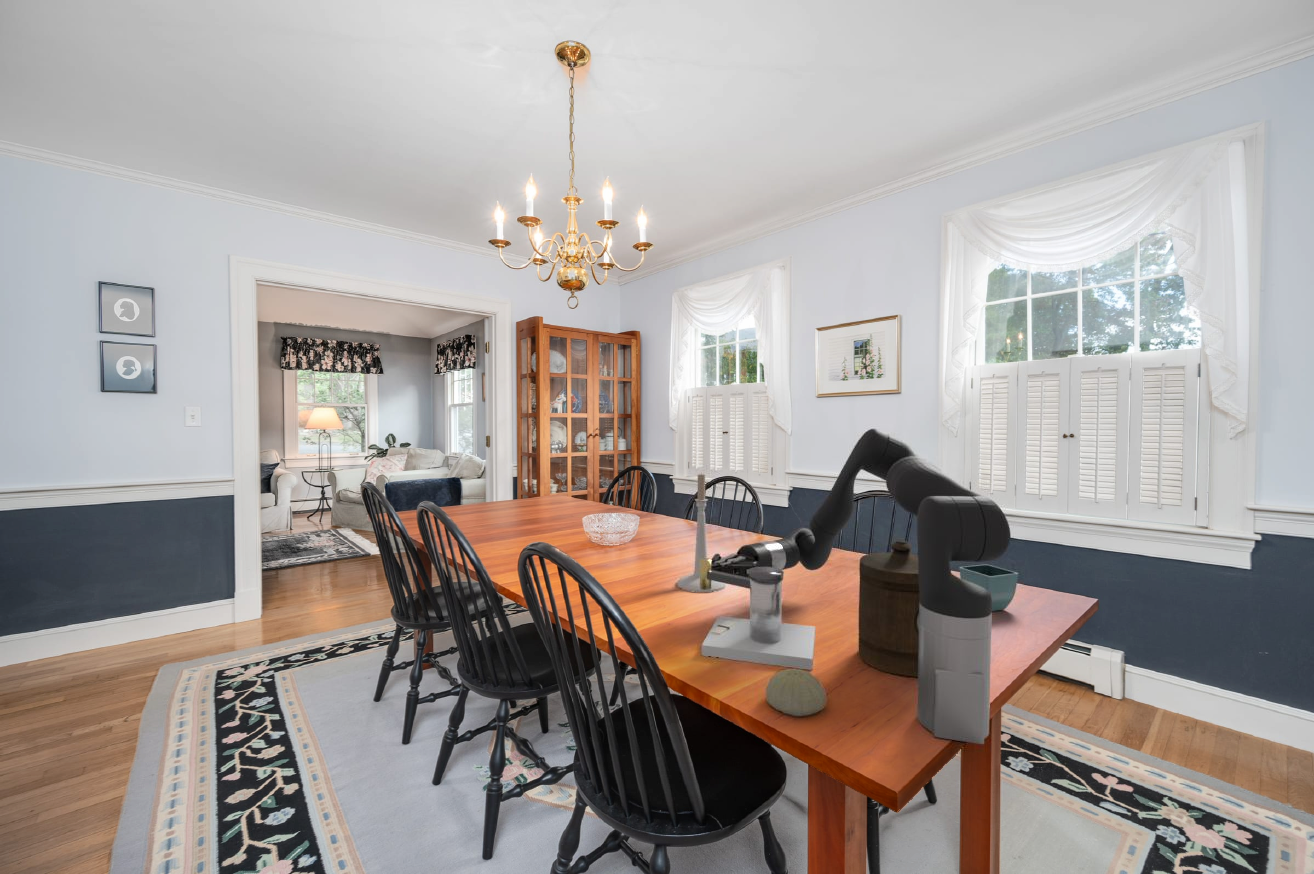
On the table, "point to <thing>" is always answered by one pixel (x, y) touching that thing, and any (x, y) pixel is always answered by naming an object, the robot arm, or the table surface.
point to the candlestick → (699, 546)
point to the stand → (760, 644)
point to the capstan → (754, 597)
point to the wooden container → (890, 610)
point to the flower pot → (992, 582)
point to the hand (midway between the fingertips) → (704, 571)
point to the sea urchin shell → (796, 693)
